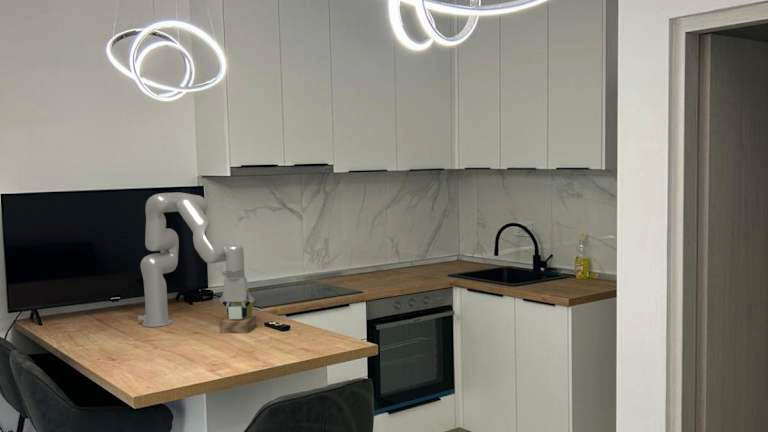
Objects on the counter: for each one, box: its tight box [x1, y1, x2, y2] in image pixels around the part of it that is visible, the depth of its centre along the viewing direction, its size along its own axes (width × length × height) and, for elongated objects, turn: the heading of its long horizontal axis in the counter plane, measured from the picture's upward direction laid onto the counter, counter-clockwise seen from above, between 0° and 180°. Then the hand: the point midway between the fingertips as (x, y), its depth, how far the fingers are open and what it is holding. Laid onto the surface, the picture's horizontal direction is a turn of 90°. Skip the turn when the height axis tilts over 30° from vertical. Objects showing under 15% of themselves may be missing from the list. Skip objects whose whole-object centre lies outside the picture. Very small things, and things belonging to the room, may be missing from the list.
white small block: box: [228, 304, 243, 319], centre depth 309 cm, size 6×6×5 cm
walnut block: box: [218, 315, 257, 334], centre depth 309 cm, size 12×12×5 cm
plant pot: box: [232, 299, 255, 316], centre depth 330 cm, size 9×9×9 cm
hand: (237, 316), depth 309 cm, fingers closed on white small block, 5 cm apart
